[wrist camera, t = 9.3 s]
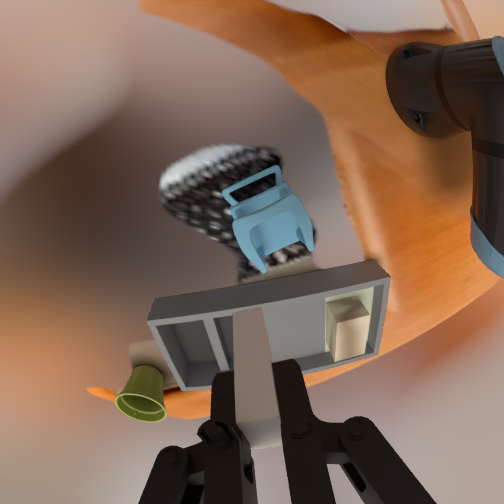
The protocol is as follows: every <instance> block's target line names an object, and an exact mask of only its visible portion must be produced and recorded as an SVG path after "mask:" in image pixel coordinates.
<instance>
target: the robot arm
mask: <svg viewBox="0 0 504 504" xmlns="http://www.w3.org/2000/svg"><path fill="white" fill-rule="evenodd" d="M386 83H387V89H388V93H389V96H390V99H391V102H392V104H393V106H394V108H395V110H396V112H397V113H398V115H399V116H400V118H401V119H402V120H403V122H404V123H405V124H406V125H407V126H408V127H409V128H410V129H412V130H413V131H414V132H416V133H418V134H420V135H422V136H425V137H430V138H437V139H442V138H448V137H451V136H453V135H456V134H459V133H462V132H465V131H471V137H472V156H473V192H472V206H471V208H470V216H471V231H470V239H471V244H472V247H473V249H474V251H475V252H476V253H477V256H478V258H479V259H480V260H481V261H482V263H483V264H484V265H485V266H486V267H487V268H489V269H490V270H491V271H492V272H494V273H495V274H497V275H498V276H500V277H502V278H504V38H503V37H501V36H495V37H493V38H490V39H482V40H476V41H470V42H465V43H460V44H455V45H450V46H441V45H436V44H430V43H424V42H413V43H409V44H406V45H403V46H401V47H399V48H397V49H396V50H395V51H394V52H393V53H392V55H391V56H390V58H389V61H388V64H387V69H386ZM233 346H234V371H227V372H221V373H216V375H215V377H214V379H213V381H212V389H211V392H212V394H211V416H210V420H208V421H206V422H204V423H203V424H202V425H201V426H200V428H199V429H198V432H197V435H198V436H199V437H200V438H201V440H202V442H200V443H198V444H195V445H192V446H189V447H187V448H184V449H183V448H181V447H178V446H168V447H165V448H164V449H162V450H161V451H160V452H159V454H158V455H157V458H156V460H155V463H154V465H153V468H152V470H151V473H150V475H149V478H148V481H147V483H146V486H145V488H144V490H143V493H142V496H141V498H140V501H139V503H138V504H258V500H257V491H256V480H255V469H254V461H253V458H252V456H251V450H250V447H251V448H252V450H254V449H262V448H269V447H275V446H281V445H283V451H284V458H285V464H286V470H287V477H288V482H289V489H290V496H291V502H292V504H336V502H335V498H334V493H333V489H332V485H331V481H330V477H329V472H328V468H327V464H339V465H340V466H341V468H342V469H343V471H344V472H345V474H346V476H347V477H348V479H349V480H350V482H351V483H352V485H353V487H354V488H355V490H356V491H357V493H358V494H359V496H360V497H361V499H362V500H363V502H364V503H365V504H436V502H435V501H434V500H433V499H432V497H431V496H430V495H429V494H428V492H427V491H426V490H425V489H424V487H423V486H422V485H421V483H420V482H419V481H418V480H417V479H416V477H415V476H414V475H413V473H412V472H411V471H410V470H409V468H408V467H407V466H406V464H405V463H404V462H403V461H402V459H401V458H400V457H399V455H398V454H397V453H396V452H395V450H394V449H393V448H392V446H391V445H390V444H389V443H388V441H387V440H386V439H385V438H384V436H383V435H382V434H381V432H380V431H379V430H378V428H377V427H376V426H375V425H374V423H373V422H372V421H371V420H369V419H368V418H365V417H362V416H360V417H359V416H356V417H353V418H349V419H347V420H346V421H345V422H344V423H329V422H324V421H321V420H319V419H318V418H316V416H315V415H314V414H313V412H312V409H311V405H310V401H309V397H308V394H307V390H306V386H305V382H304V378H303V375H302V371H301V367H300V365H299V364H298V363H297V362H296V361H295V360H294V358H292V359H288V360H283V361H278V362H273V356H272V351H271V345H270V340H269V336H268V332H267V328H266V324H265V320H264V316H263V312H262V308H261V307H256V308H251V309H247V310H242V311H237V312H233Z"/></svg>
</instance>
